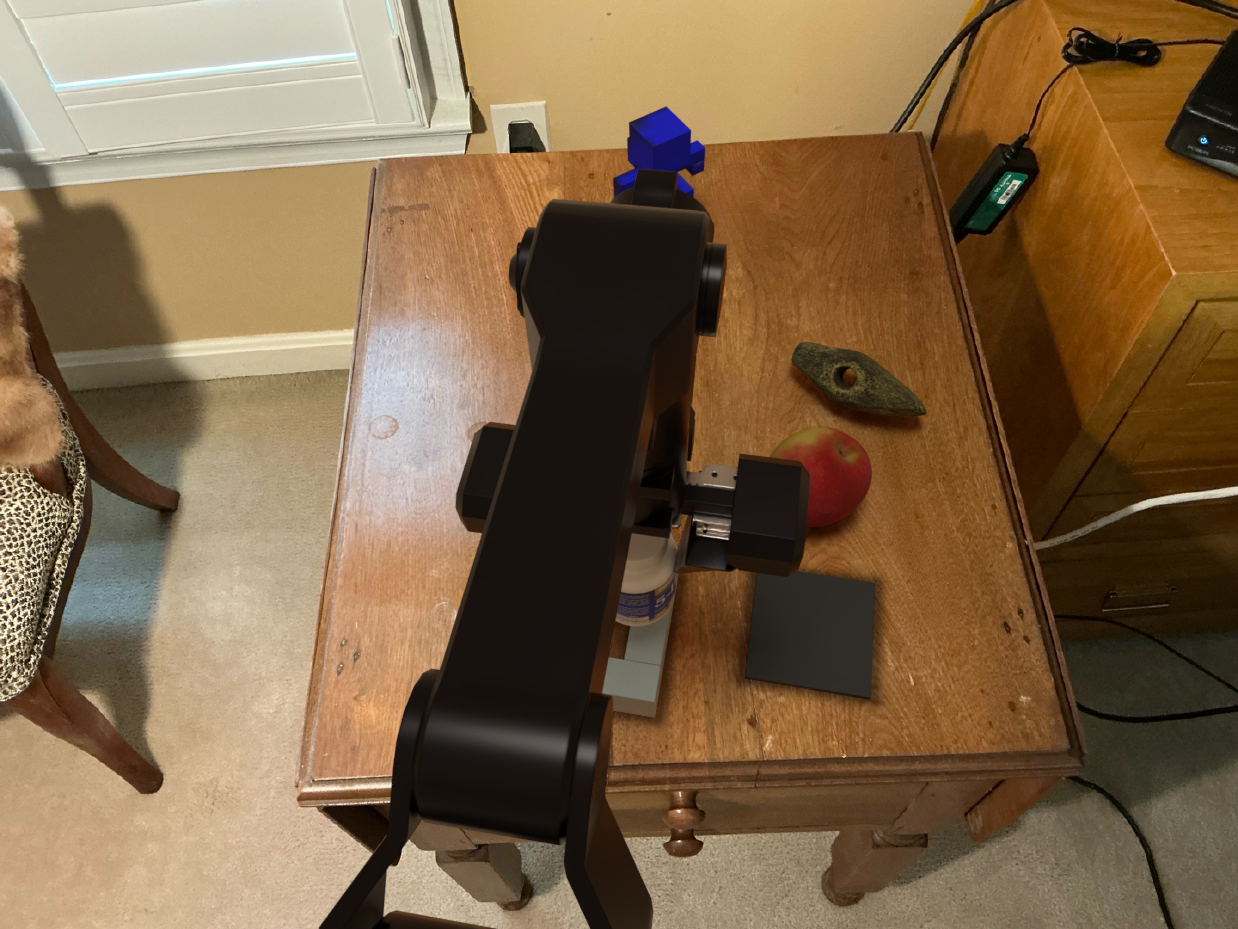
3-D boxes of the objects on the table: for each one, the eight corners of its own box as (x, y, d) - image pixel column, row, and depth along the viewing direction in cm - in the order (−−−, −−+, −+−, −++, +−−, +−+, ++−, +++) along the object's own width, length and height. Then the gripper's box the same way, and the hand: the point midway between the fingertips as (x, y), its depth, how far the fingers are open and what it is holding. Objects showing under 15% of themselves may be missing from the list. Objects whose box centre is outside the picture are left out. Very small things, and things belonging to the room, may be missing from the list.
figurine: (703, 206, 90) (709, 104, 80) (689, 260, 86) (693, 160, 76) (631, 196, 91) (628, 94, 81) (613, 248, 87) (608, 148, 77)
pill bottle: (669, 633, 58) (671, 579, 51) (591, 622, 59) (582, 566, 51) (680, 561, 61) (683, 499, 53) (605, 550, 61) (598, 487, 54)
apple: (850, 555, 69) (871, 506, 62) (749, 528, 71) (759, 478, 64) (866, 475, 73) (888, 421, 66) (770, 451, 74) (781, 396, 68)
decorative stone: (790, 432, 75) (799, 398, 71) (787, 361, 79) (794, 325, 75) (922, 435, 75) (938, 401, 70) (911, 363, 79) (926, 327, 74)
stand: (654, 718, 63) (654, 702, 60) (506, 692, 65) (498, 675, 61) (677, 578, 69) (678, 556, 65) (540, 557, 70) (534, 534, 67)
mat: (869, 699, 63) (870, 697, 63) (744, 678, 64) (745, 676, 64) (874, 584, 68) (875, 582, 68) (757, 567, 69) (757, 565, 69)
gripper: (835, 315, 45) (794, 470, 58) (483, 277, 47) (521, 435, 61) (823, 504, 39) (781, 628, 53) (424, 451, 42) (481, 583, 55)
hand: (636, 560), depth 55 cm, fingers closed on pill bottle, 5 cm apart
